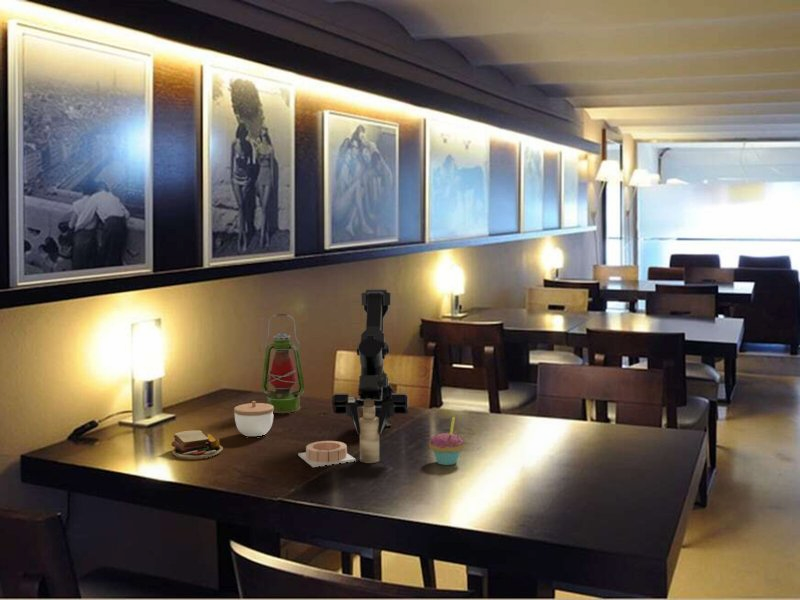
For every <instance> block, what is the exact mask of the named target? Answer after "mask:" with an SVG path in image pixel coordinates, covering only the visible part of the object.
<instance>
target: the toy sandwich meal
mask: <svg viewBox="0 0 800 600" xmlns="http://www.w3.org/2000/svg"><path fill="white" fill-rule="evenodd" d="M206 435H207V436H206ZM206 435H205V434H204V433H203V431H202V430H185V431H183V430H182V431H179V432H175V433H174V434H173V438H174V440H173V441H171V446H172V447H174V448H173V449H172V451H171V453H172V454H173V455H174V456H175V457H176V458H179V459H182V460H203V458H204V459H208V457H209V458H212V456H213V457H215V455H216V456H218V455H219V454H220V453H221V452H222V451H223V449H224V447H223V446H222V445H220V438H218V439H215V437H214V436H213V435H211V434H210V433H207V434H206ZM217 454H218V455H217Z"/></svg>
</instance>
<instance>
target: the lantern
mask: <svg viewBox="0 0 800 600" xmlns="http://www.w3.org/2000/svg"><path fill="white" fill-rule="evenodd" d="M274 317H289V318H291V319H292V321H293V327H294V328H293V329H294V339H295V340H296V342H297V344H298V345H296V344H294V343H291V335H289V334H287V333H285V332H286V328H285V326H279V327H278V329H281V328H283V331H281V330H278V332H279V333H277V334H275V335H273V338H274V339H273V342H272V343H269V344H268V345H267V342H268V340H269V339H270V329H271V328H270V327H271V326H270V323H271V320H272V319H273V318H274ZM267 325H268V326H267V330H268V331H267V339H266V340H265V342H264V345H265V347H266V348H265V354H264V363H263V371H262V380H261V381H262V382H261V389H262V391H263V393H264V394H267V397H266V404H270V405H273V407H274V411H276V412H293V411H297V410H299V409H300V408H301V406H300V396H301V395H303V394H304V392H305V381H304V375H303V367H302V363H301V361H302V360H301V356H300V350H299V347H300V341H299V340H298V337H297V331H296V330H297V329H296V321H295V318H293V316H292V315H289V314H288V313H276V314H274V315H271V316H270V318H269V320H268V323H267ZM272 350H275V354H274V355H273V356H274V357H273V359H272V360H273V361H272V364H271V370H269V369H270V368H269V367H270V360H271V351H272ZM290 350H292V351H293V354H294V361H295V366H296V367H295V366H294V362H293V359H292V356H291V353H290ZM295 368H296V370H295ZM296 372H297V373H296ZM296 374H297V377H296ZM297 378H298V381H297ZM269 383H270V385H272V386H273V387H274V389H275V390H274V391H273V390H270V389H268V388H269ZM296 384H298V387H299V389H298V390H297V391H293V390H291V388H292V387H293V386H294V385H296Z"/></svg>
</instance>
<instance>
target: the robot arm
mask: <svg viewBox="0 0 800 600" xmlns="http://www.w3.org/2000/svg"><path fill="white" fill-rule="evenodd" d="M360 296H361V300H360V303H361V306H363V308H364V312H365V314H366V321H365V323H366V324H365V325H366V326H365V330H364V331H363V332H362V333H361V335H360V341H359V342H357V347H356V355H357V356H358V357H359V364H360V375H359V377H358V381H359V382H358V389H357V390H358V392H357V394H358V397H359V398H357V397H354V396H353V397H352V396H351V397H350V396H349V393H348V392H347V393H344V392H343V393H342V392H341V393H333V395H332V396H331V404H332V411H333V414H335V415H346V416H347V417H350V418H351V420H352V422H353V424H354V426H355V429H356V433H357V435H360V428H359V418H360V417H359V411H358V410H359V409H358V408H363V406H364V401H365V399H367V398H371V399H373V400H374V405H375V416H376V417H379V435H382V432H383V430H384V428H391V427H392V424H391V423H388V421H389V420H390V418H391V417H395V415H406V414H408V413H409V399H408V398H409V397H408V395H407V394H406V393H394V389H393V388H392V385H391V384H389V383H390V382H389V377H388V374H387V373H386V372H385V371H384V360H385V358H386V356H388V354H390V346H389V344H388V342H387V341H386V339H385V337H386V336H385V333H384V321H385V319H386V317H387V315H388V314H389V311H390V309H389V308H390V306H392V292H388V288H375V289H374V288H373V289H372V288H370V289H366V290H365V292H361V295H360Z"/></svg>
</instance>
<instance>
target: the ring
mask: <svg viewBox="0 0 800 600" xmlns="http://www.w3.org/2000/svg"><path fill="white" fill-rule="evenodd" d="M297 454H298V456H299V457H300V458H301V460H303V461H305V462H306V463H307V464H308V465H309V466H311V468H318V467H319V466H320V467H326V466H325V465H327V466H333V465H332V464H334V465H340V464H339V463H341V464H347V463H346V462H348V463H353V462H354V461H355V462H357V461H356V458H355V457H353V456H352V455H350V454H349V453H348V446H347V444H346V443H344V442H342V441H336V440H321V441H315V442H311V443H308V444H307V445H306V446H305V452H298V453H297ZM320 467H319V468H320Z"/></svg>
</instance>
